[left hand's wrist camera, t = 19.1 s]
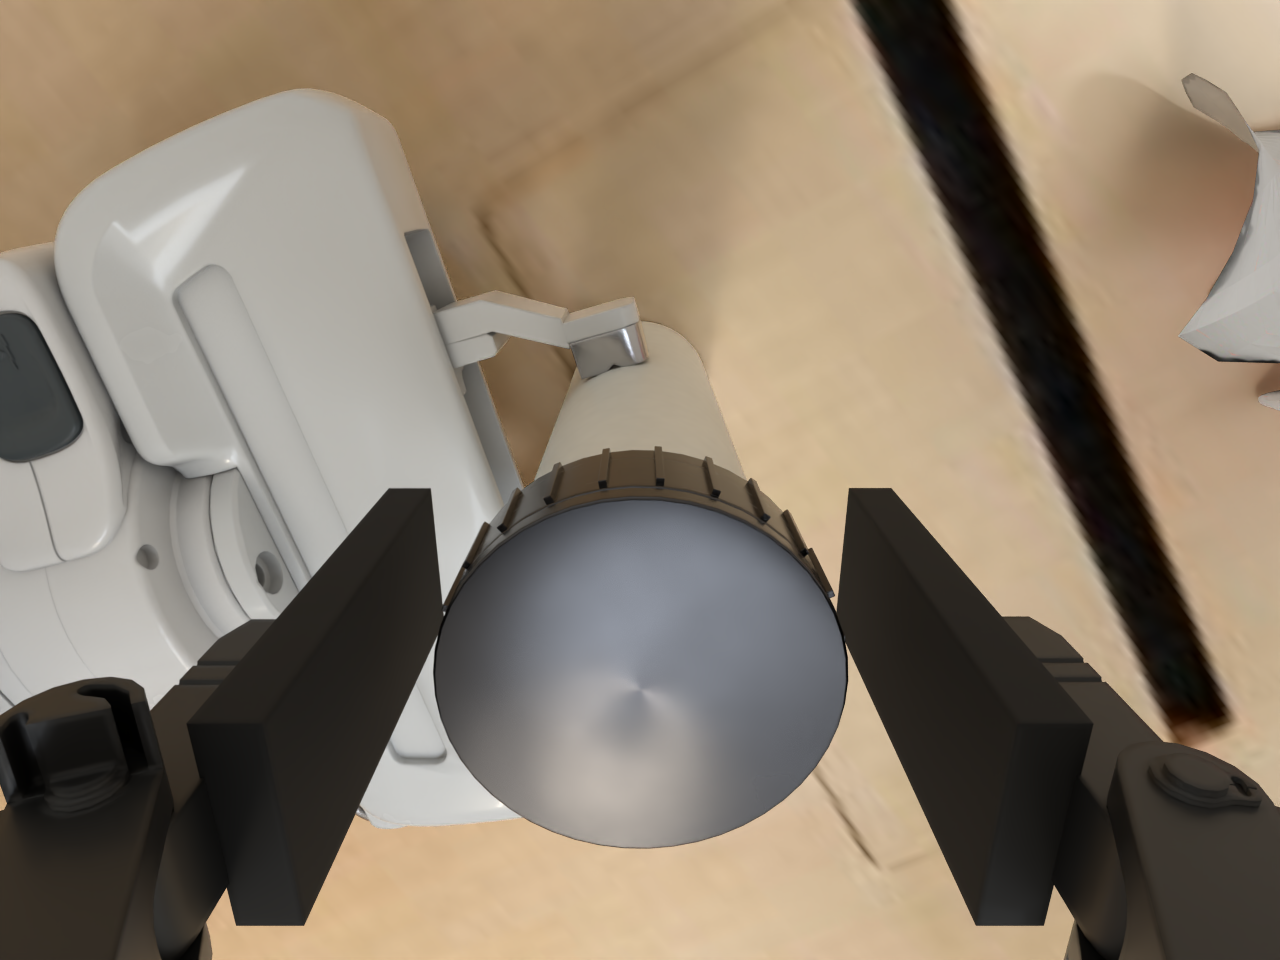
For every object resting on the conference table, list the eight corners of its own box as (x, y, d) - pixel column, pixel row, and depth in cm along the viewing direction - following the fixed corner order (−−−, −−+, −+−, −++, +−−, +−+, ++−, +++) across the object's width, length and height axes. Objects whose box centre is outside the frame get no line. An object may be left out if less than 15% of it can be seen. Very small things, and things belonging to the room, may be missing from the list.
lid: (771, 395, 11) (798, 435, 9) (855, 715, 13) (890, 799, 11) (401, 506, 11) (356, 564, 10) (533, 796, 13) (516, 890, 12)
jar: (571, 448, 27) (480, 781, 12) (575, 316, 26) (476, 501, 10) (700, 455, 27) (780, 796, 12) (713, 325, 26) (824, 520, 10)
